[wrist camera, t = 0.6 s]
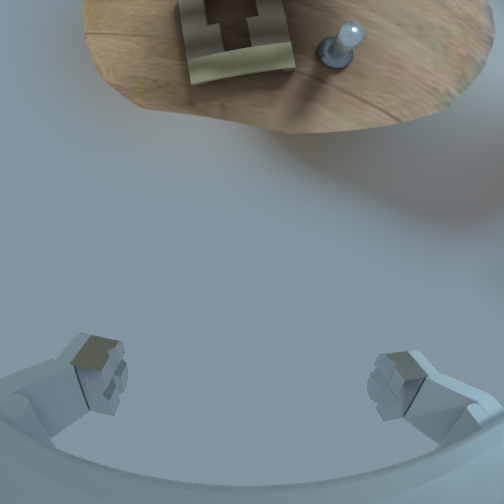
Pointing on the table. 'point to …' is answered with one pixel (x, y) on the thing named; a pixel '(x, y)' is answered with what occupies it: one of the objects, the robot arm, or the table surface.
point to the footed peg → (341, 46)
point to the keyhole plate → (213, 33)
